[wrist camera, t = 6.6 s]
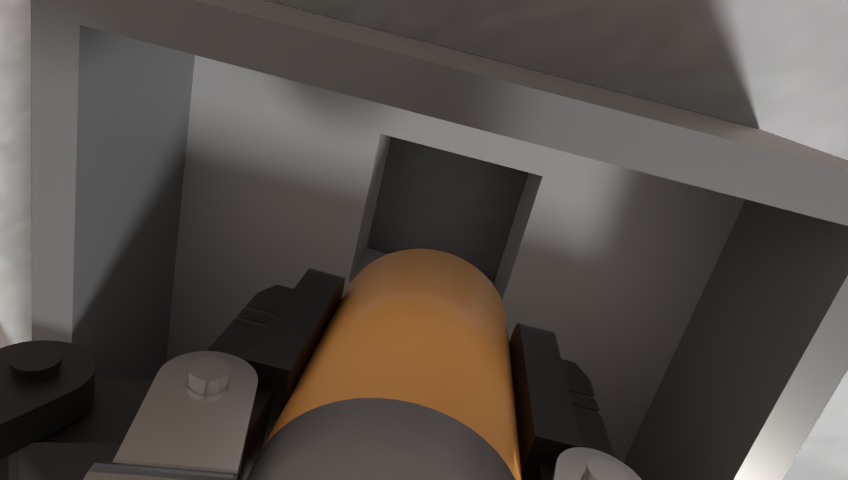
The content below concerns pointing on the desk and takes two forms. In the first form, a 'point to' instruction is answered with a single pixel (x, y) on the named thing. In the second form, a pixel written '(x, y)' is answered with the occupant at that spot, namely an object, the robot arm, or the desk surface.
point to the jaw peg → (404, 382)
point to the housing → (358, 193)
